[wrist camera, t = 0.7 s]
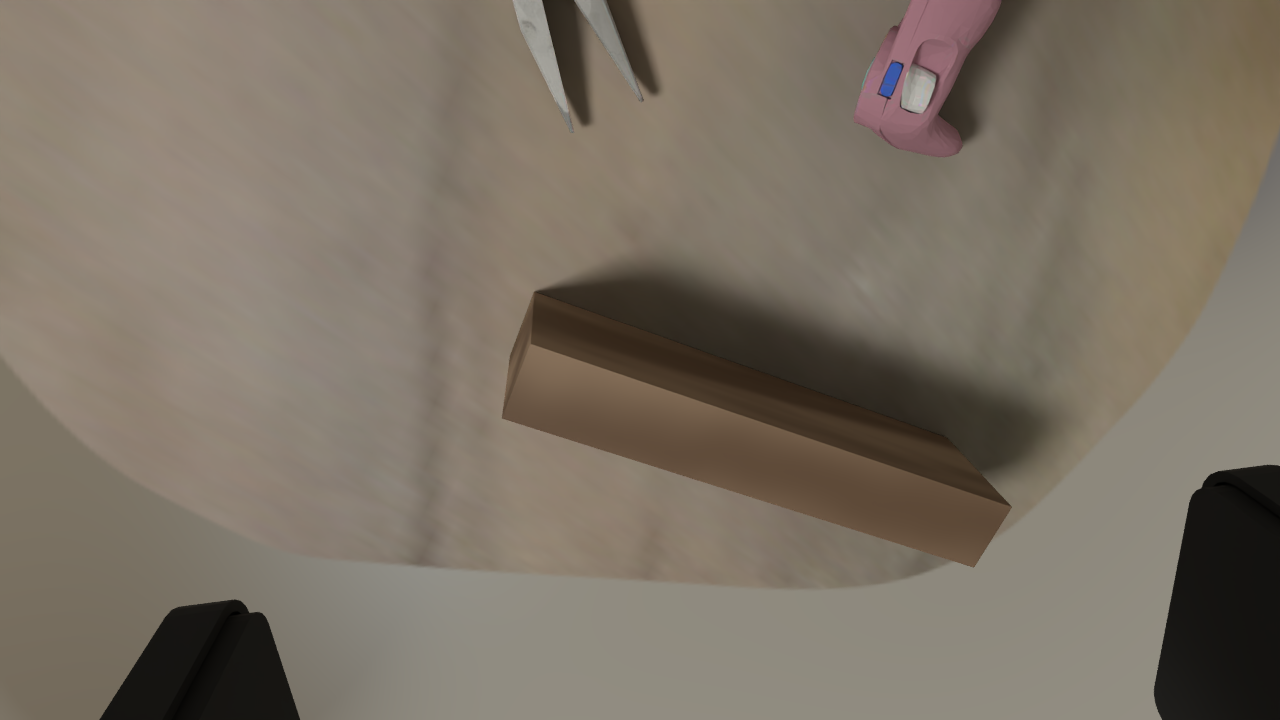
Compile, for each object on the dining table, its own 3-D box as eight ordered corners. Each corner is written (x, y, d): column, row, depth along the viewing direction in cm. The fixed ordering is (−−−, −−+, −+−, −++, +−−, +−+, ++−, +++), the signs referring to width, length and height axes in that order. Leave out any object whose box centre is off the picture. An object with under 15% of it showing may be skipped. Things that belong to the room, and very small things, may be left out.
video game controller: (953, -130, 32) (954, -204, 25) (1075, -94, 31) (1108, -163, 24) (844, 128, 35) (820, 119, 28) (951, 168, 34) (952, 169, 27)
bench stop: (534, 291, 35) (530, 343, 29) (946, 437, 39) (1012, 507, 33) (510, 355, 36) (502, 418, 30) (915, 491, 40) (974, 567, 34)
